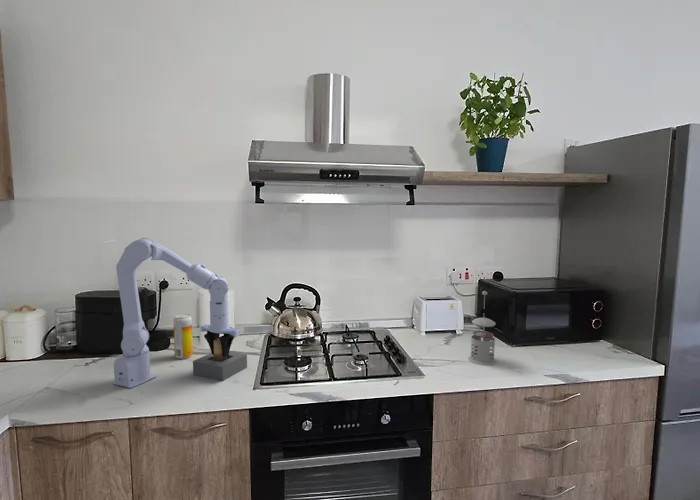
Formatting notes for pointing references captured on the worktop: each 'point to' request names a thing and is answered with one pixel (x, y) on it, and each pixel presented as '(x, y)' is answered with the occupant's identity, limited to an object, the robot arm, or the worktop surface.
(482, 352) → the french press
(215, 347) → the dowel
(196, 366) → the socket block
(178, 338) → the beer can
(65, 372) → the worktop surface
